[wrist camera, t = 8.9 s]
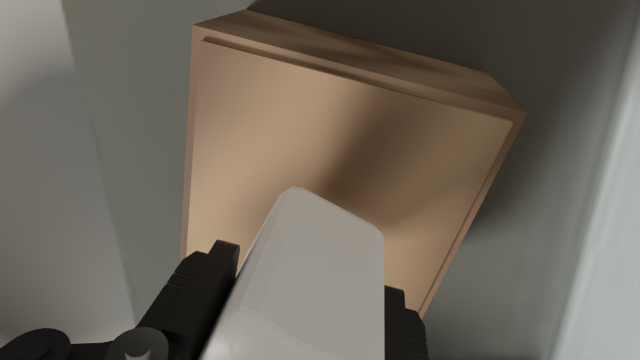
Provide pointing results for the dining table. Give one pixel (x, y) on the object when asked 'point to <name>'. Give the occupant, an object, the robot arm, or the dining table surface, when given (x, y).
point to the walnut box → (339, 140)
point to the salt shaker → (305, 288)
